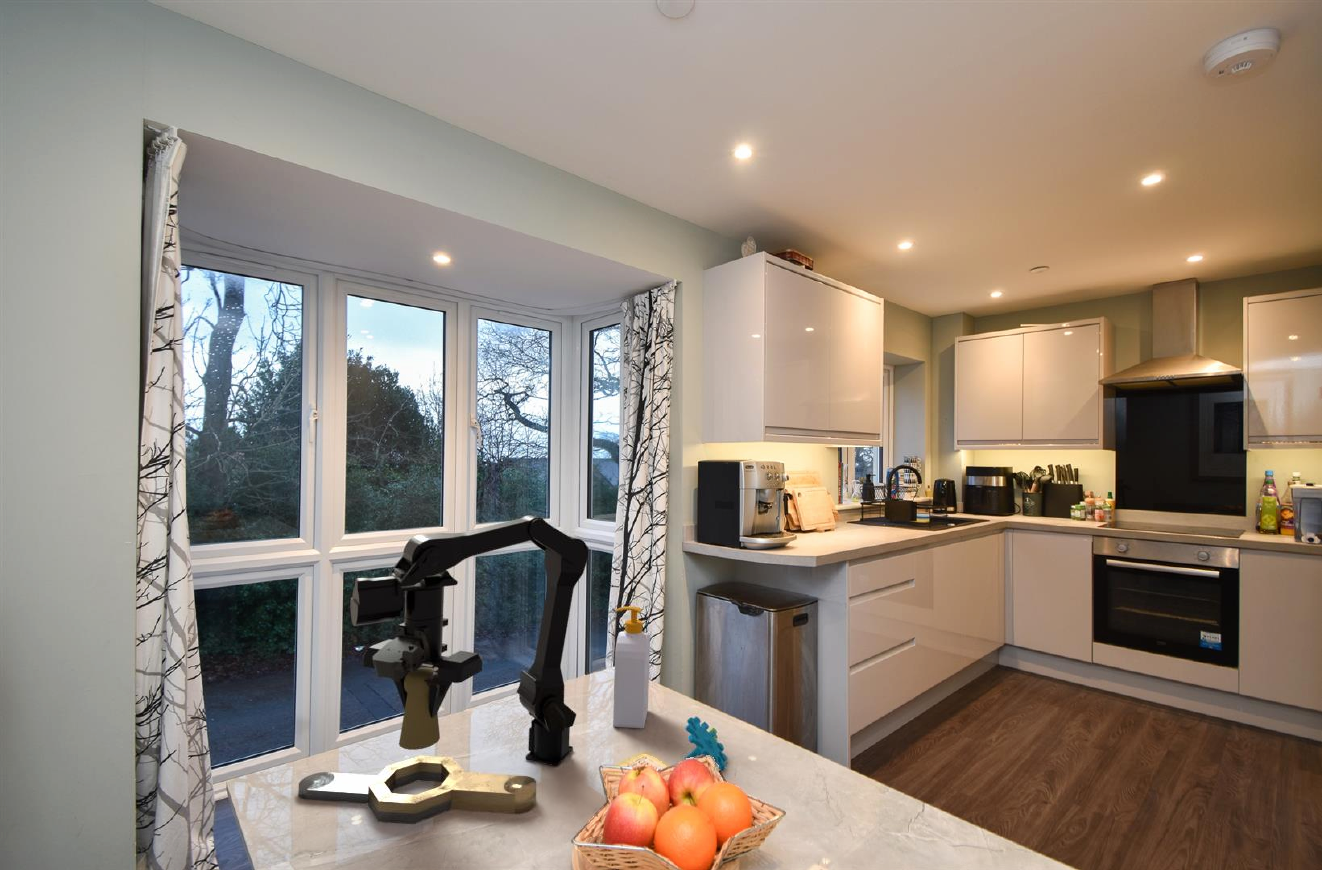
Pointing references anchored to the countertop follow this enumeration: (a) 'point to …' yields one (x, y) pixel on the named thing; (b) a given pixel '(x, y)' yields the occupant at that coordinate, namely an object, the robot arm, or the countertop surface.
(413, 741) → the cork
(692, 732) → the teal irregular branched piece
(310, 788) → the lower chain end
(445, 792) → the upper chain end
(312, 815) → the countertop surface
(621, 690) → the soap bottle
